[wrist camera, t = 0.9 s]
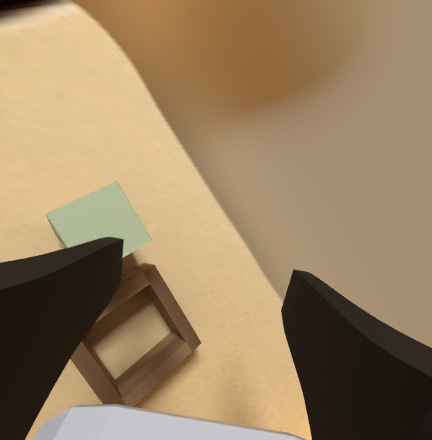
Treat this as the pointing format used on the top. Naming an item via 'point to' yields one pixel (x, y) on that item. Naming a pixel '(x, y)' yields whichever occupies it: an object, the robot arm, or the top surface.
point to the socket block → (153, 360)
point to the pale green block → (99, 219)
